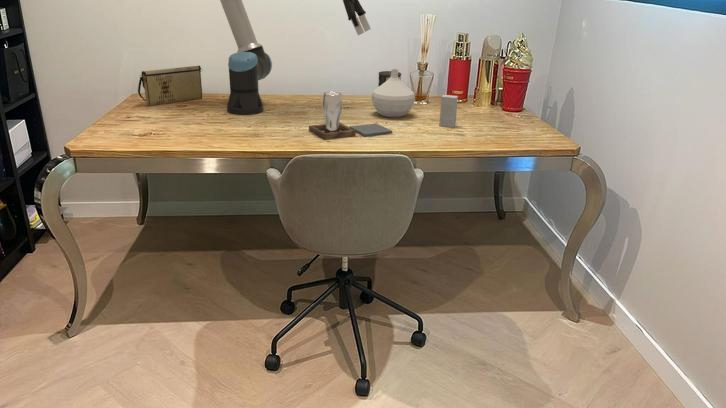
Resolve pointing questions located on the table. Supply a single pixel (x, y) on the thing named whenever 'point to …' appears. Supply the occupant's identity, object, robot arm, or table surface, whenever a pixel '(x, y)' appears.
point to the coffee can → (385, 77)
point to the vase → (393, 97)
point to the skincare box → (448, 111)
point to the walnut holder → (332, 135)
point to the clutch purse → (171, 85)
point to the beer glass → (332, 111)
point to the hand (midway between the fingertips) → (364, 32)
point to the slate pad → (370, 130)
